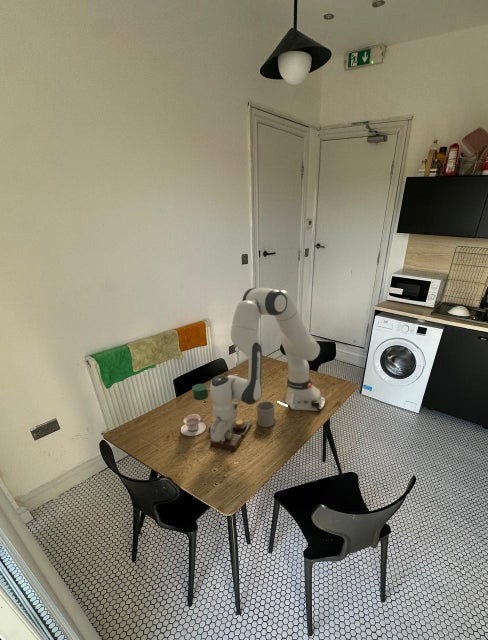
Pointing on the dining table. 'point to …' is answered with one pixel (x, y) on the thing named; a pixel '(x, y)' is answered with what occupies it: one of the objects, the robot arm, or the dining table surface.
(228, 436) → the dimmer knob
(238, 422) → the lamp switch
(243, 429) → the lamp base
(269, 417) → the cup
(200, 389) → the desk lamp
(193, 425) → the teacup
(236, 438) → the dimmer
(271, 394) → the dining table surface
